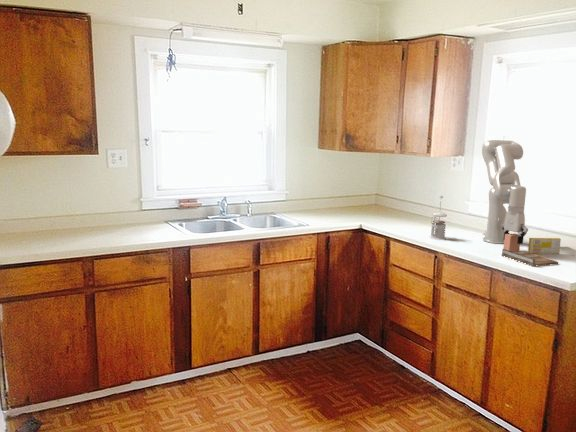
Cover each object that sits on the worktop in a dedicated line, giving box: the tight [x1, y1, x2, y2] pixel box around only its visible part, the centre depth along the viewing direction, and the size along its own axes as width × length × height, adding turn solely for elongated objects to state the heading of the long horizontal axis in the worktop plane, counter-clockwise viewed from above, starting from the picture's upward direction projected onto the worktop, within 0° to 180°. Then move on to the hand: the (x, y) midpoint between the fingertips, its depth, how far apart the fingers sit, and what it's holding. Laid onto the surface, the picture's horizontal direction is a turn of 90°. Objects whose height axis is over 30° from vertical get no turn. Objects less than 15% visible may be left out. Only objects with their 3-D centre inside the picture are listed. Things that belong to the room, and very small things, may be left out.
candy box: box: [527, 237, 562, 255], centre depth 265 cm, size 16×2×8 cm, turn 93°
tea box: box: [502, 233, 521, 253], centre depth 267 cm, size 4×7×9 cm, turn 110°
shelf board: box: [501, 251, 559, 267], centre depth 250 cm, size 20×16×1 cm
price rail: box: [501, 248, 535, 264], centre depth 247 cm, size 20×1×2 cm, turn 20°
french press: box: [428, 195, 448, 241], centre depth 293 cm, size 10×12×25 cm
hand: (512, 241), depth 266 cm, fingers open, 9 cm apart
